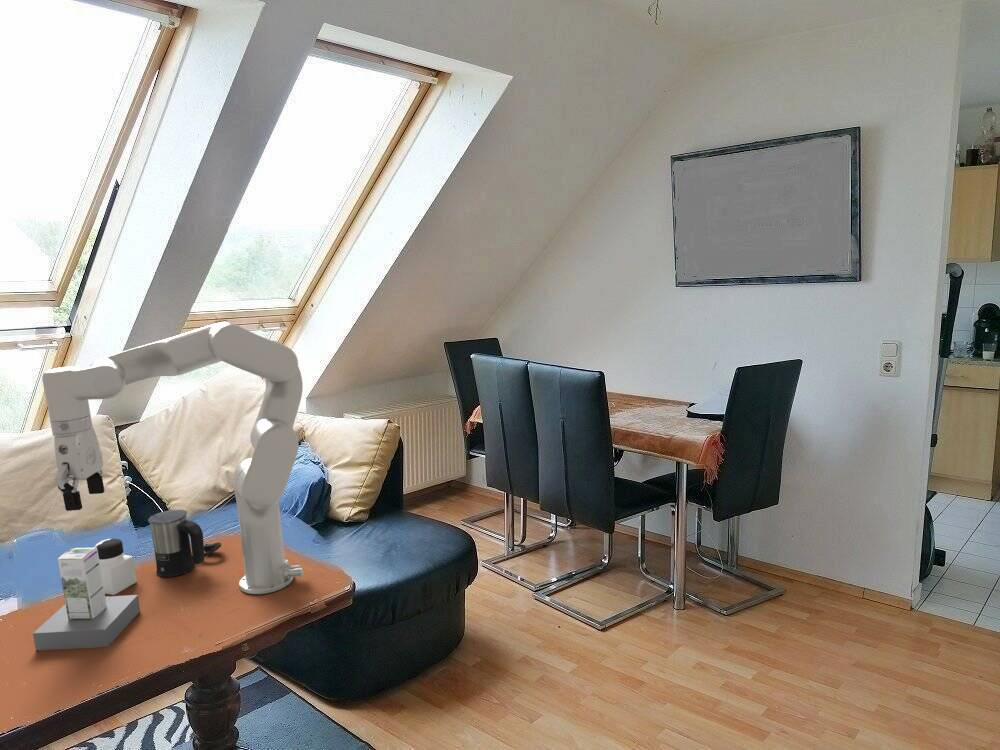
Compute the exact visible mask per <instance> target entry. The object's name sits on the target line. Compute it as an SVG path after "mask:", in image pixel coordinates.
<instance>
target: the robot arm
mask: <svg viewBox="0 0 1000 750" xmlns="http://www.w3.org/2000/svg"><path fill="white" fill-rule="evenodd" d="M220 362H223V363H226V364H228V365H230V366H233V367H235V368H238V369H240V370H242V371H245V372H247V373H250V374H252V375H254V376H257V377H261V378H262V379H264V381H265V389H264V390H265V391H264V394H263V399H262V402H261V405H260V408H259V410H258V413H257V417H256V419H255V421H254V424H253V427H252V428H251V430H250V431H251V432H250V436H249V437H250V443H251V445H252V447H253V449H254V451H253V454H252V456H251V457H247V458H246V459H244V460H243V459H242V461H241V462H239V464H238V465H237V466H236V468H235V470H234V472H233V477H232V485H233V491H234V496H235V500H236V502H235V503H236V508H237V515H238V521H239V522H238V524H239V531H240V542H241V549H242V558H243V559H242V560H243V566H244V567H243V569H244V576H243V577H242V578H241V579H240V580H239V583H238V584H239V589H240V590H241V591H242V592H243V593H245V594H249V595H264V594H265V595H266V594H271V593H274V592H277V591H280V590H282V589H284V588H286V587H287V586H289V585H290V584H291V583H292V582H293V580H294V577H303V576H304V569H303V567H301V564H296V565H291V564H290V563H289V562H290V561H289V559H285V549H284V539H283V529H282V522H281V521H282V519H281V510H280V502H279V501H280V500H281V498H282V497H283V494H284V492H285V491H286V488H287V484H288V483H289V482H288V481H289V479H290V477H291V476H290V475H291V474H292V471H293V468H294V465H295V462H296V459H297V455H298V451H299V438H298V434H297V433H296V431H295V430H294V425H295V421H296V419H297V416H298V415H297V414H298V411H299V407H300V404H301V401H302V396H303V388H304V387H303V386H304V385H303V377H302V372H301V370H300V367H299V360H298V356H297V354H296V353H295V352H294V351H293V350H292V349H291V348H290V347H289V346H286V345H285V344H284V343H282V342H279V341H276V340H272V339H268V338H266V337H263V336H261V335H258V334H256V333H253V332H251V331H249V330H247V329H245V328H244V327H242V326H240V325H238V324H236V323H234V322H231V321H220V322H216V323H213V324H210V325H206V326H204V327H200V328H196V329H194V330H191V331H188V332H185V333H181V334H178V335H175V336H172V337H168V338H165V339H162V340H158V341H154V342H151V343H147V344H144V345H141V346H137V347H134V348H130V349H127V350H126V349H125V350H124V351H120V352H117V353H114V354H111V355H107V356H104V357H101V358H98V359H96V360H95V361H93V362H92V363H91V364H90V365H89V366H88V367H85V368H84V367H83V368H80V367H77V366H64V367H63V366H62V367H56V368H51V369H48V370H46V371H44V373H43V374H42V376H41V379H42V385H43V386H42V387H43V391H44V396H45V400H46V407H47V412H48V416H49V417H48V418H49V421H50V423H49V424H50V427H51V434H52V436H53V437H54V438H53V439H54V455H55V463H56V467H57V468H56V469H57V473H56V475H55V477H54V482H55V483H56V484H57V488H58V490H60V493H61V494H62V497H63V498H62V499H63V503H64V504H63V505H64V507H65V510H66V512H69V511H70V512H71V511H80V510H82V509H83V504H82V499H81V492H80V490H78V486H79V482H80V481H85V480H86V485H87V490H88V494H89V495H98V494H104V493H105V486H104V481H103V470H102V468H103V466H104V461H103V454H102V452H101V448H100V447H101V446H100V444H99V440H98V437H97V434H96V430H95V429H94V426H93V420H92V415H91V410H90V403H89V400H108V399H109V400H110V399H114V398H115V397H116V398H117V396H118V395H120V394H121V393H122V392H123V390H124V389H125V386H127V385H130V384H133V383H136V382H140V381H144V380H148V379H150V378H151V379H152V378H156V377H176V376H182V375H184V374H187V373H190V372H194V371H195V370H199V369H202V368H205V367H207V366H211V365H215V364H218V363H220ZM69 483H72V485H71V484H69Z"/></svg>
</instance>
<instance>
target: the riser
mask: <svg viewBox="0 0 1000 750" xmlns="http://www.w3.org/2000/svg"><path fill="white" fill-rule="evenodd" d="M105 599H106V604H107V607H106V608H105V609H104V610H103V611H102V612H101V613H100V614H99V615H97V616H96V617H95V618H94V619H74V620H68V616H67V610H66V604H64V605H63V606H61V607H60V608H59V609H58V610H57V611H56V612H54V613H53V614H52V616H50V617H49V618H48V619H47V620H46V621H45V622H44V623H42V624H41V626H39V627H38V628H37V629H36V630H35V631H34V632H33V633H32V636H33V637H32V638H33V642H34V647H35V651H36V650H39V651H55V650H74V649H75V650H76V649H91V648H92V649H95V648H108V647H109V646H111V644H112V643H113V642H114V640H115V639H116V638H118V637H119V635H120V634H121V633H122V632H123V631H124V630H125V628H126V627H127V626H128V625H129V624H130V623H131V622H132V621H133V620H134V619H135V617H137V615H138V614H139V613H140V612H141V608H140V602H139V595H138V594H130V595H112V596H108V595H107V596H105Z"/></svg>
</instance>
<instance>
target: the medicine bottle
mask: <svg viewBox="0 0 1000 750" xmlns="http://www.w3.org/2000/svg"><path fill="white" fill-rule="evenodd" d="M94 548H97V550H98V555H99V562H100V568H101V575H102V581H103V588H104V594H105V595H106V594H107V595H112V596H116V595H117V594H119V593H120V592H122V591H124V590H126V589H127V588H129V587H130V586H133V585H134V584H136V583H137V574H136V568H135V561H134V556H132V555H126V554H125V551H124V545H123V541H122V540H121V539H120V538H107V539H103V540H101V541H99V542H98V543H96V544H95V545H94Z"/></svg>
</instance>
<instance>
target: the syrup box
mask: <svg viewBox="0 0 1000 750" xmlns="http://www.w3.org/2000/svg"><path fill="white" fill-rule="evenodd" d="M57 564H58V570H59V575H60V581H61V585H62V593H63V599H64V603H65V604H66V610H67V616H68V620H74V619H94V618H95V617H96V616H97V615H99V614H100V613H101V612H102V611H103V610H104V609H105V608H106V607H107V604H106V599H105V597H106V594H104V588H103V581H102V575H101V568H100V562H99V555H98V550H97V548H95V547H72V548H70V549H68V550H66V551H65V552H64V553H62V554H61V555H60V556H59V557H58V558H57ZM65 604H64V605H65Z"/></svg>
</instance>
